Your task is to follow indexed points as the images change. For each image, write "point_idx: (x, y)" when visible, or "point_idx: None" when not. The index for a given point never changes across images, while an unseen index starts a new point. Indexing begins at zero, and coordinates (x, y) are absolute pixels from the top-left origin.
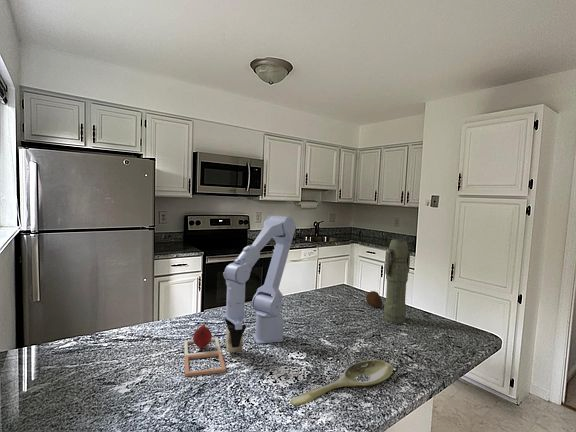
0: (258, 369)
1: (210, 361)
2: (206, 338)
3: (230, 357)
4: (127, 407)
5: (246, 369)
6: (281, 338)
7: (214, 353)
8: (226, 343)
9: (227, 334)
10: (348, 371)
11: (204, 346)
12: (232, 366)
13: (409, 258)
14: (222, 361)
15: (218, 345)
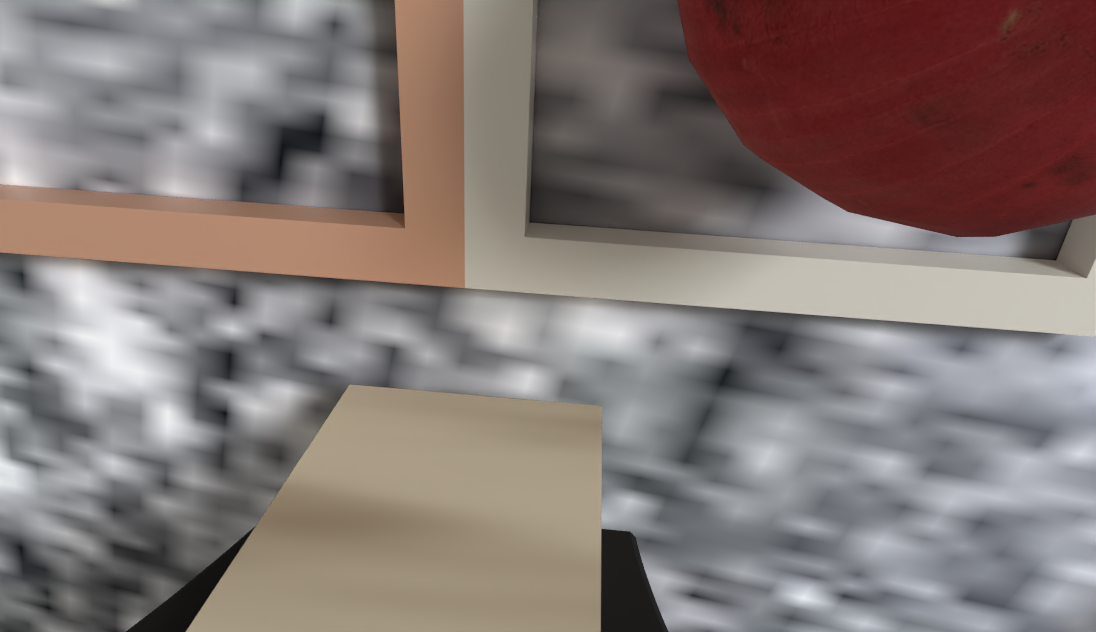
0: (16, 576)
1: (240, 46)
2: (696, 25)
3: (344, 376)
4: None
5: (5, 474)
6: None
7: (423, 160)
8: (551, 443)
9: (394, 622)
10: None
11: None
12: (73, 344)
13: None
14: (108, 241)
15: (747, 290)
